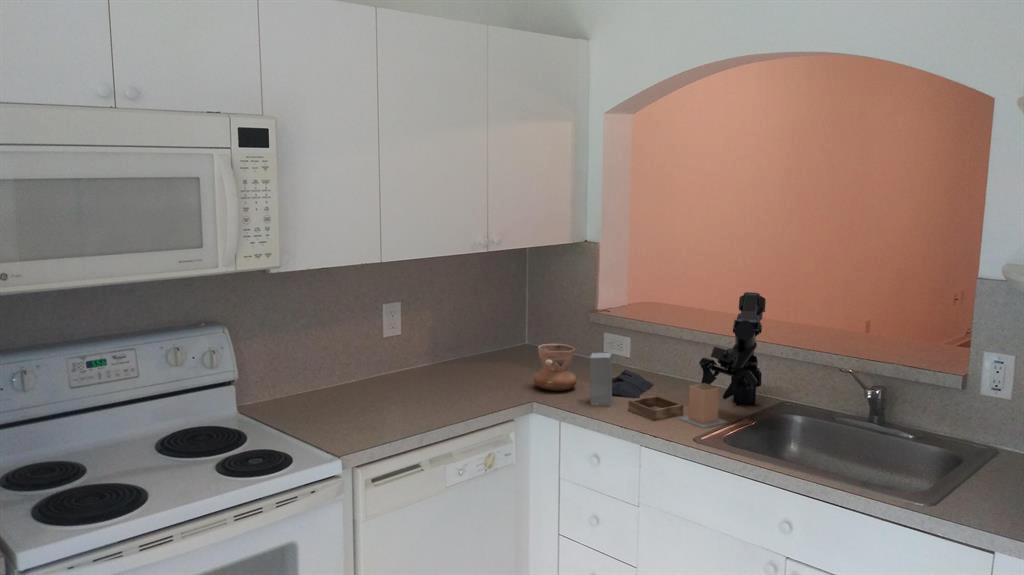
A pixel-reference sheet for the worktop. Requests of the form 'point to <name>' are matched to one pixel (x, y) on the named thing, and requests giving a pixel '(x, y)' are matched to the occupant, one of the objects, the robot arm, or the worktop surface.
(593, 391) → the skincare box
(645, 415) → the brown wooden tray
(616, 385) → the dark slate chunk
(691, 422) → the rubber mat
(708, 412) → the lidded terracotta box
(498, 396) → the worktop surface
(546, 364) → the brown clay vase
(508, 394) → the worktop surface
